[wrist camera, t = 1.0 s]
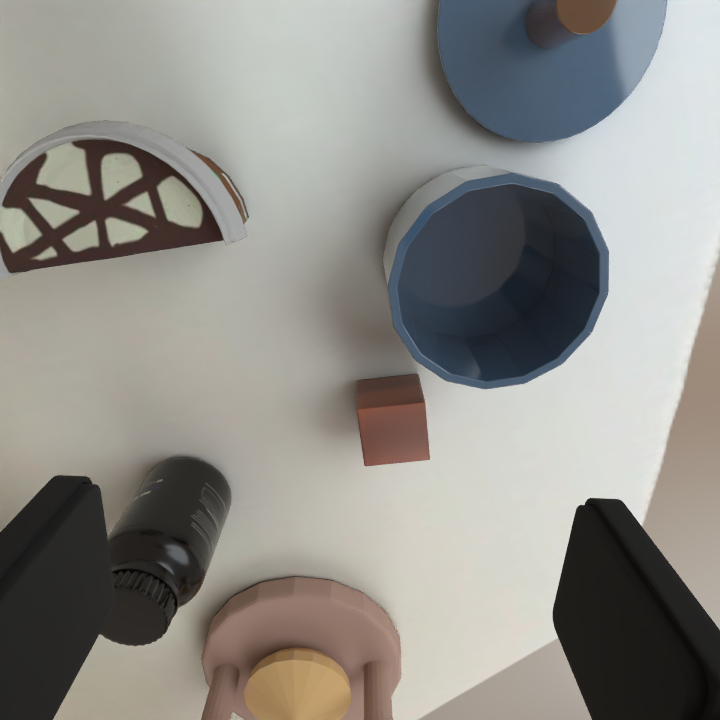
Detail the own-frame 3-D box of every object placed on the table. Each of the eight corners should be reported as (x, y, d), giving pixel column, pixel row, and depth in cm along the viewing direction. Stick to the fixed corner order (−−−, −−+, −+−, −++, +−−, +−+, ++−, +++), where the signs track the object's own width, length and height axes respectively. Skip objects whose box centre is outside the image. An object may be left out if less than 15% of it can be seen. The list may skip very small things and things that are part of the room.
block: (357, 380, 39) (356, 409, 34) (418, 373, 38) (425, 401, 34) (364, 433, 40) (364, 466, 36) (423, 427, 40) (430, 460, 36)
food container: (249, 107, 32) (203, 97, 22) (272, 213, 34) (238, 244, 25) (49, 141, 32) (-75, 145, 23) (85, 242, 35) (-15, 283, 26)
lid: (473, -146, 27) (502, -218, 22) (697, -79, 28) (780, -131, 23) (410, 114, 32) (421, 110, 26) (604, 163, 33) (654, 170, 27)
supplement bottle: (148, 446, 41) (68, 563, 30) (238, 462, 41) (192, 583, 30) (143, 517, 43) (68, 649, 32) (227, 532, 44) (182, 667, 33)
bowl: (409, 146, 32) (422, 149, 26) (587, 190, 33) (645, 205, 26) (366, 321, 37) (367, 364, 30) (524, 356, 38) (561, 406, 31)
